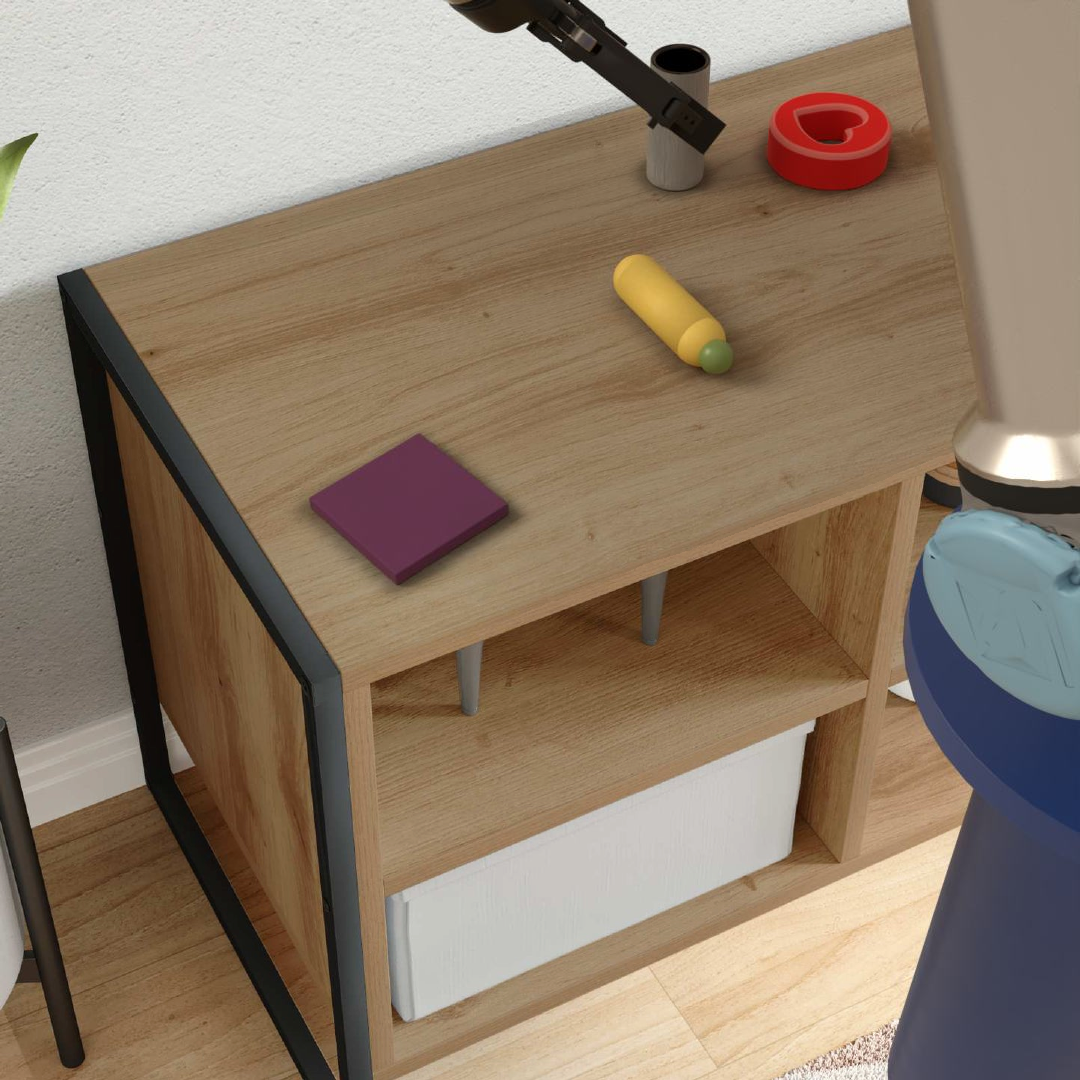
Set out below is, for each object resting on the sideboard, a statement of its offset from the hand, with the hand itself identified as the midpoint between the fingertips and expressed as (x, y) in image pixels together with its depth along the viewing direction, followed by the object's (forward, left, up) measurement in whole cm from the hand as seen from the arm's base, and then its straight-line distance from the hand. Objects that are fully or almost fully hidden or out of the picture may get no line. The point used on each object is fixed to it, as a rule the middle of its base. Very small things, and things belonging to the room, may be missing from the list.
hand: (662, 95), depth 120 cm
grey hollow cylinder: (0, -1, -8) cm, 8 cm away
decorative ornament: (-4, -13, -8) cm, 16 cm away
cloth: (-23, +34, -8) cm, 41 cm away
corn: (-16, +10, -8) cm, 20 cm away
